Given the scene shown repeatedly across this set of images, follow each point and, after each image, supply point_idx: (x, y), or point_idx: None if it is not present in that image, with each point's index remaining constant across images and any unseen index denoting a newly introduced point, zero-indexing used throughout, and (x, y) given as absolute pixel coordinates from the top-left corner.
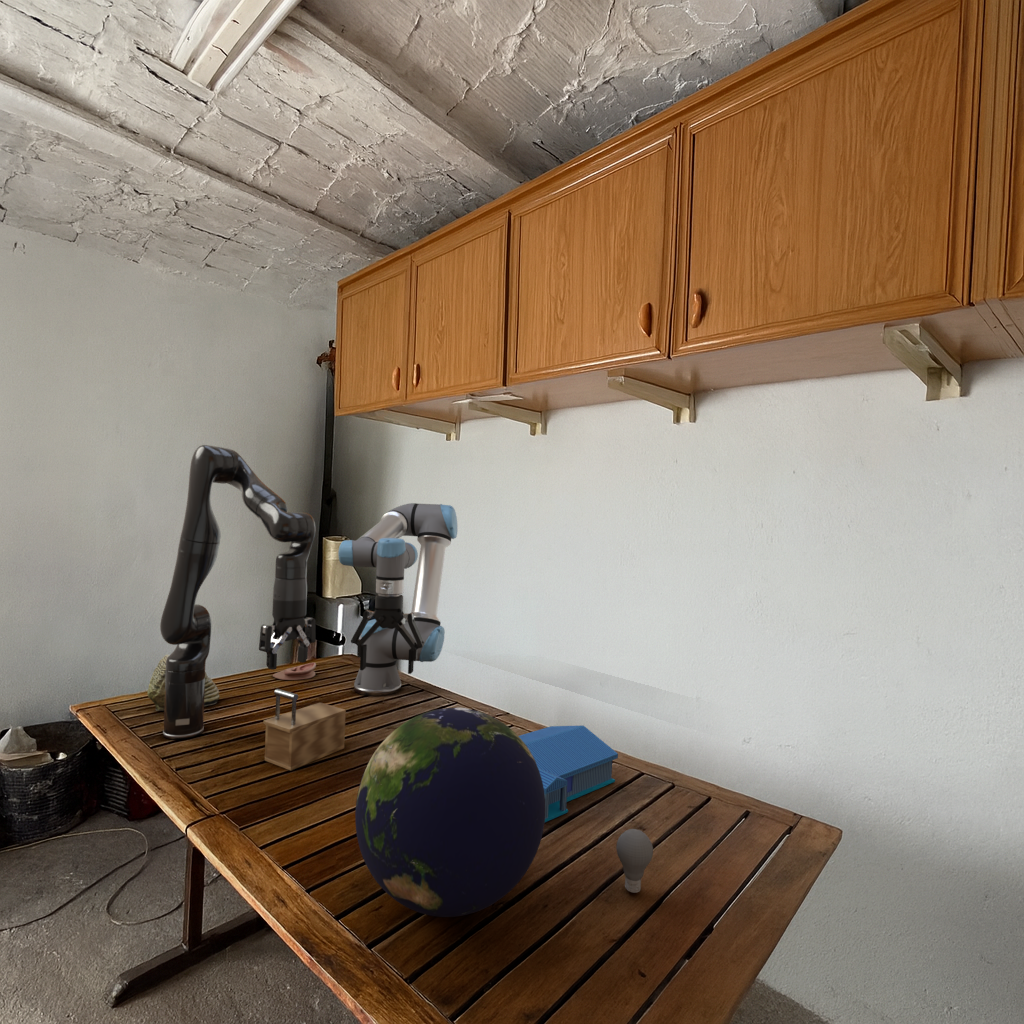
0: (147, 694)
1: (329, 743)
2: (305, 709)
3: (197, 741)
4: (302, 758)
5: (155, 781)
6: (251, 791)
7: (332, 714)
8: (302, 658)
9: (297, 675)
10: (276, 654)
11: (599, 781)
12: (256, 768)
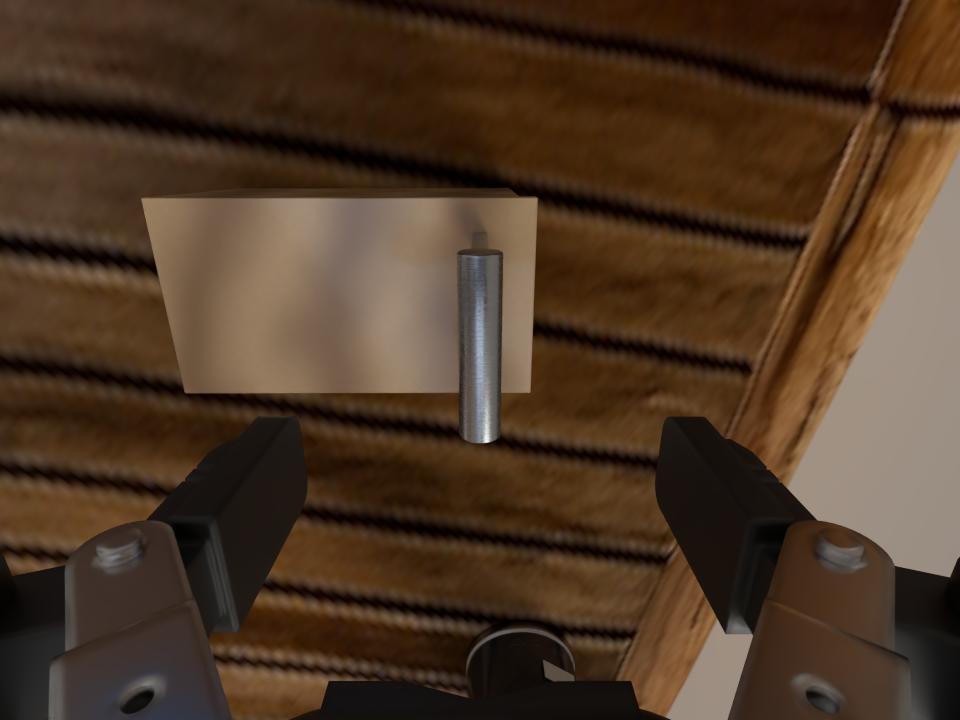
0: None
1: (306, 190)
2: (301, 366)
3: (532, 592)
4: (453, 189)
5: (784, 450)
6: (701, 158)
7: (241, 198)
8: (285, 454)
9: None
10: (753, 513)
11: None
12: (564, 301)
